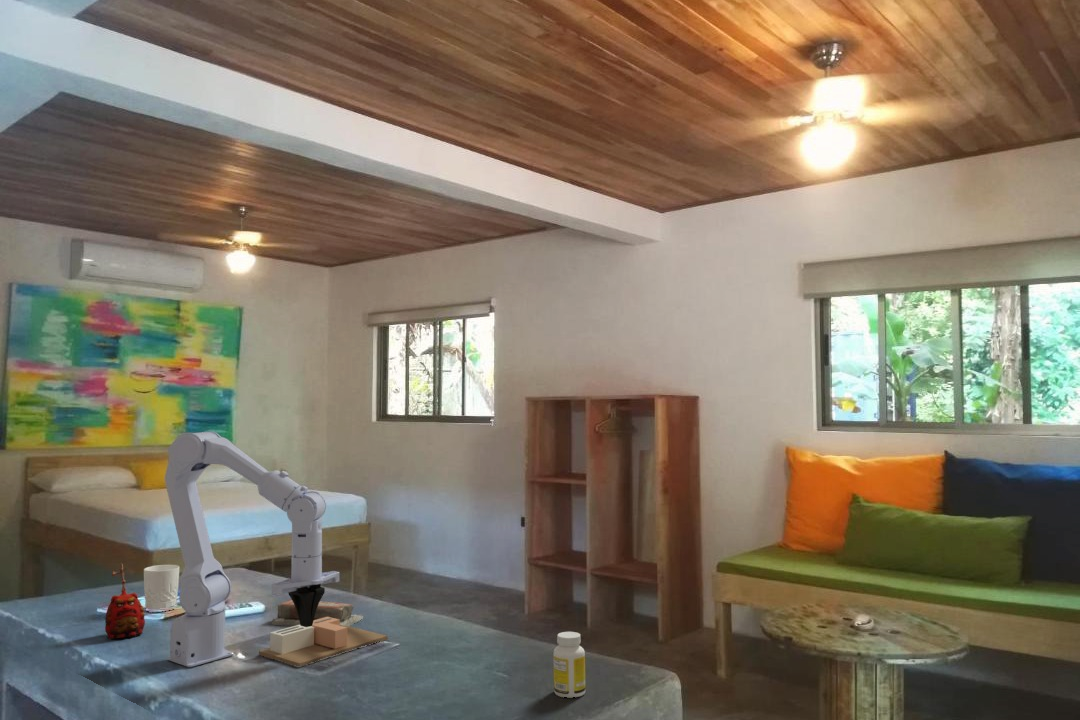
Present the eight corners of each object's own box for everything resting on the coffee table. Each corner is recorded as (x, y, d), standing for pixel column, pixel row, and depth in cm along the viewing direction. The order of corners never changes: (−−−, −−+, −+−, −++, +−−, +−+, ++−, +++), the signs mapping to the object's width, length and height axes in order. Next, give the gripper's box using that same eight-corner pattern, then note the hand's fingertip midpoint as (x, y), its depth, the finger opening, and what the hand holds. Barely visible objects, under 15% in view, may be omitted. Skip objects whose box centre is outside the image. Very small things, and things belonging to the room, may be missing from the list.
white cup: (145, 606, 197) (146, 565, 197) (180, 604, 199) (181, 563, 200) (140, 615, 189) (141, 572, 190) (176, 612, 192) (177, 569, 192)
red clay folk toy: (108, 642, 167) (109, 570, 168) (101, 635, 173) (102, 565, 173) (147, 636, 172) (149, 565, 173) (139, 628, 178) (141, 560, 178)
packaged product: (270, 605, 181) (296, 594, 190) (270, 626, 180) (295, 615, 190) (342, 610, 176) (364, 599, 185) (342, 632, 175) (364, 620, 185)
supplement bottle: (584, 687, 140) (583, 630, 140) (586, 698, 134) (586, 639, 135) (552, 687, 139) (552, 630, 140) (554, 699, 134) (554, 639, 135)
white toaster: (282, 654, 156) (282, 635, 157) (270, 650, 159) (270, 631, 159) (314, 644, 162) (314, 626, 163) (301, 641, 165) (301, 623, 165)
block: (335, 648, 159) (335, 630, 159) (303, 640, 165) (303, 622, 165) (358, 641, 164) (358, 623, 164) (327, 633, 170) (327, 616, 170)
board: (299, 667, 151) (299, 663, 151) (258, 655, 158) (258, 650, 158) (387, 639, 168) (387, 635, 168) (346, 629, 176) (346, 625, 176)
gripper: (287, 563, 149) (287, 638, 148) (349, 551, 160) (349, 620, 160) (265, 559, 153) (264, 631, 152) (326, 548, 165) (326, 615, 164)
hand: (306, 625), depth 156 cm, fingers closed
